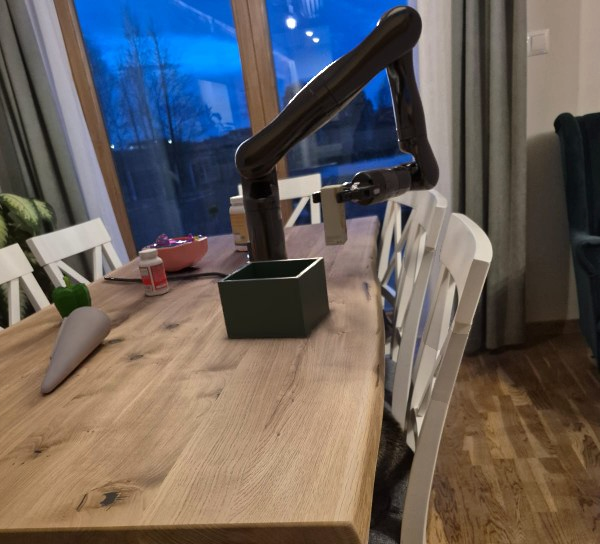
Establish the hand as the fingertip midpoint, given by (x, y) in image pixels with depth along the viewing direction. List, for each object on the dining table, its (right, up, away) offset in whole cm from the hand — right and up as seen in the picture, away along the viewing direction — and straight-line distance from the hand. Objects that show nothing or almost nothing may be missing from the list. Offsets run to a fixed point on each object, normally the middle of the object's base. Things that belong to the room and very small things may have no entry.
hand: (325, 198), depth 125 cm
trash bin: (-9, -29, -13) cm, 33 cm away
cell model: (-42, -4, +52) cm, 67 cm away
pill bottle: (-43, -16, +26) cm, 53 cm away
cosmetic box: (+3, -8, +6) cm, 10 cm away
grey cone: (-45, -37, -19) cm, 62 cm away
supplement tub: (-21, +8, +70) cm, 74 cm away
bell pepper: (-58, -25, +12) cm, 64 cm away
